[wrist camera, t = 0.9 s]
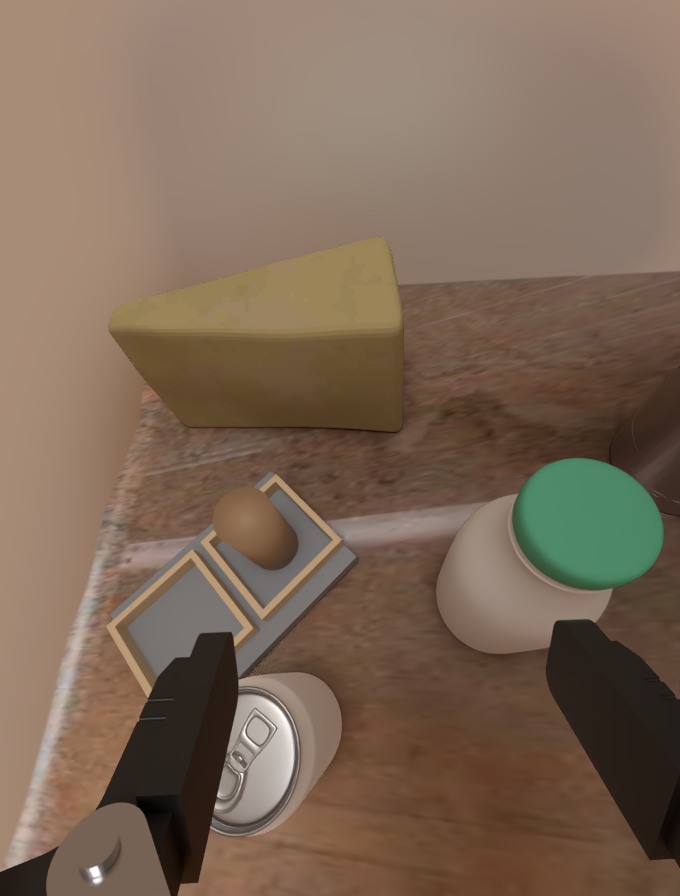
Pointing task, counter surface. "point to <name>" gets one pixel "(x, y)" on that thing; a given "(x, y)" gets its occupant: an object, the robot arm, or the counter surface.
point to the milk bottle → (547, 555)
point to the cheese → (277, 343)
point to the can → (275, 751)
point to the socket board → (234, 582)
